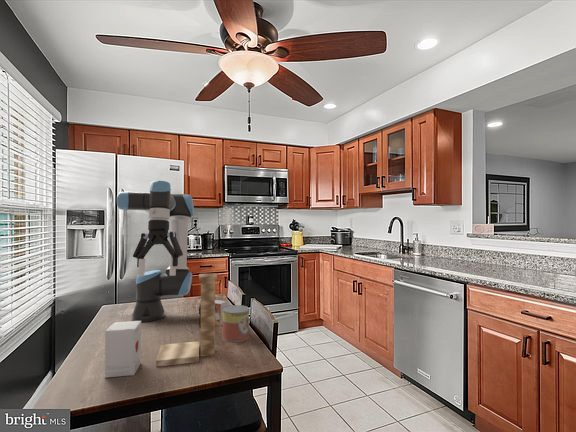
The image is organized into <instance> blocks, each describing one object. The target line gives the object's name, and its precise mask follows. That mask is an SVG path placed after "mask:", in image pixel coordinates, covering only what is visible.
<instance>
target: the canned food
mask: <svg viewBox="0 0 576 432" xmlns="http://www.w3.org/2000/svg"><path fill="white" fill-rule="evenodd" d="M222 311H223V325H222V332H221V333H222V337H221V338H222V340H223V341H225V342H227V343H228V342H229V343H239V342H243V341H246V340H248V339H249V337H250V335H249V333H250V332H249V331H250V325H249V324H250V307H248V306H247V305H240V304H237V305H233V304H232V305H227V307H224V308H223V309H222Z"/></svg>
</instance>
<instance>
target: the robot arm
mask: <svg viewBox="0 0 576 432" xmlns="http://www.w3.org/2000/svg"><path fill="white" fill-rule="evenodd" d="M171 187H172V186H171V183H170V182H168V181H165V180H152V181H151V182H150V185H149V192H148V191H147V192H145V191H119V192H118V193H117V195H116V205H117V208H118V209H119V210H125V211H145V212H146V213H148V225H147V230H148V233H144V232H142V233H141V235H140V239H139V241H138V244H137V245H136V248H135V250H134V252H133V254H132V257H133V258H135V259H136V260H137V261H136V263H137V264H136V266H137V269H138V271H137V272H138V273H137V276H136V277H135V278H136V280H135V306H134V308H133V311H132V313H131V320H132V321H141V323H143V322H144V323H145V322H153V321H158V320H160V319H163V318H164V317H165V310H164V306H163V304H162V297H177V296H178V297H180V296H186V295H189V292H190V290H191V286H192V280H193V273H192V272H191V271H190V268H189V267H188V266H187V265H188V263H187V261H188V260H187V257H188V233H189V232H188V231H189V229H188V228H189V222H190V221H191V220H192V216H195V206H194V200H193V196H192V195H190V194H184V193H181V194H178V193H177V194H176V193H175V194H174V193H171V191H172V189H171ZM170 221H171V222H170ZM170 224H171V225H170ZM169 230H170V231H169ZM168 238H169V239H170V240H168ZM155 245H163V246H164V248H165V249H166V251H167V252H168V253H169V259H168V260H169V262H168V266H167V268H166V269H165V272H164V273H163V272H162V270H160V269H158V270H157V269H153V270H149V271H146V259H145V257H146V256H147V254H148V253H149V252H150V251H151V249H152V248H153V247H154V246H155Z"/></svg>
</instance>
